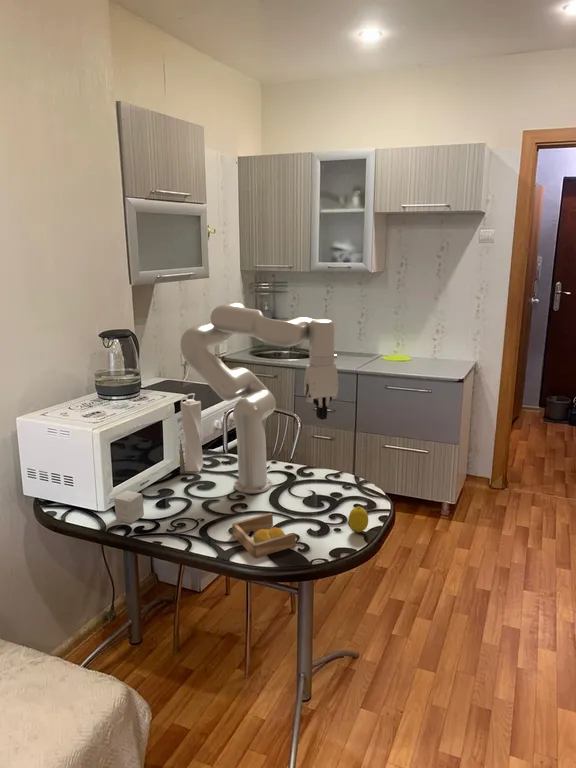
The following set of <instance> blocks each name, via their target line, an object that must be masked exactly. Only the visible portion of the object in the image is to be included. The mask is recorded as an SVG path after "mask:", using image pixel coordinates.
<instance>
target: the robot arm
mask: <svg viewBox="0 0 576 768" xmlns="http://www.w3.org/2000/svg"><path fill="white" fill-rule="evenodd" d="M209 319H210V321H208V322H205V323H200V324H197V325H195V326H194V325H193V326H191V327H190V328H189V327H188V329H187V330H185V331H184V333H183V334H182V336H181V338H180V352H181V354H182V357H183V359H184V361H185V362H186V363H187V364H188V365H189V367H191V368H192V369H193V370H194V371H195V372H196V373H197V374H198V375H199V376H200V377H201V378H202V379H203V380H204V381H205V383H206V384H207V385H208V386H209V388H211V389H212V390H213V392H215V393H216V395H217V396H219V398H220V399H221V400H223V401H226V402H230V401H233V400H235V399H237V398H240V397H241V399H239V400H238V401H237V402H236V403H235V405H234V407H233V412H232V414H233V420H234V421H233V422H234V424H235V425H234V426H235V431H236V432H235V433H236V444H237V445H236V447H237V449H236V450H237V465H238V466H237V469H238V470H237V473H238V479H237V480H235V481H234V484H233V485H234V489H235V490H236V491H238V492H240V493H244V494H250V495H251V494H253V495H254V494H259V493H264V492H267V491H269V490H270V489H271V488H272V483H273V482H272V480H271V478H268V476H267V475H268V473H267V471H268V469H267V443H266V442H267V440H266V439H267V438H266V431H265V428H264V423H263V420H264V419H266V418H267V417H269V416H270V415H272V414H273V412H275V409H276V407H277V403H276V399H275V396H274V395H273V393H272V392H271V391H270V390H269V389H268V388H267V386H266V385H264V383H263V382H262V381H261V380H260V379H259V378H258V377H257V376H256V375H255V374H254V372H252V371H251V370H250V369H247V367H246V368H245V367H241V366H237V367H234V368H229V367H228V366H227V365H226V364H225V363H224V362H223V361H222V360H221V358H219V357H218V356H216V355H215V354H214V353H211V352H210V351H209V349H213V348H215V347H218V346H220V345H221V344H223V343H224V342H225V341H227V340H228V339H229V338H231V336H233V335H234V334H237V335H241V336H247V337H253V338H255V339H257V340H259V341H261V342H263V343H267V344H269V345H270V344H271V345H276V346H283V347H293V346H296V345H299V344H301V343H304V342H307V341H308V349H309V350H308V354H309V355H308V357H309V358H308V359H309V360H308V361H309V364H307V365H306V367H305V372H304V380H303V381H304V383H303V395H304V396H306V399H305V402H306V403H308V404H309V403H311V404H314V406H316V411H315V412H316V413H315V414H316V417H317V418H318V420H319V419H320V420H322V421H323V420H327V419H328V417H327V416H328V407H329V406H330V403H331V401H332V400H335V399H336V398H338V392H339V375H338V370H337V369H338V368H337V365H336V363H335V360H337V359H338V356H337V354H335V322H333V321H332V320H331V319H325V318H322V319H321V318H319V319H314V318H311V317H304V316H299V317H296V318H293V319H289V320H279V319H273V318H269V317H266V316H264V313H263V311H261V310H260V309H254V308H248V307H245V305H243V304H242V303H239V302H229V303H224V304H221V305H217V306H216V307H214V309H213V310H212V311H211V314H210V317H209Z"/></svg>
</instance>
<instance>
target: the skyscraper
mask: <svg viewBox="0 0 576 768" xmlns="http://www.w3.org/2000/svg"><path fill="white" fill-rule="evenodd" d="M195 395H196V393H188V394H186V395H185V396H183V397H182V399H181V400H180V413H181V414H180V416H181V424H182V430H183V434H184V450H183V444H182V440H181V439H180V440H179V443H180V444H179V452H178V453H179V466H180V467H179V470H180V471H179V474H189V475H190V474H192V475H193V474H195V475H196V474H198V475H199V474H200V472H201V471H202V469H203V467H204V457H203V447H202V440H201V437H200V432H201V426H202V425H201V424H202V402H201V401H202V400H195ZM189 396H192V398H190V399H189V398H188V399H186V400H185V401H183V400H184V399H185V398H186V397H189Z"/></svg>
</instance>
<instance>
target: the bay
mask: <svg viewBox="0 0 576 768" xmlns="http://www.w3.org/2000/svg"><path fill="white" fill-rule="evenodd" d="M273 518H274V516H273V513H272V512H269V513H266V514H265V513H264V514H261V515H258V516H255V517H249V518H247V519H243V520H239V521H236V522H233V523H232V524H231V525H232V526H231V528H232V536H233V537H234V538H235V539H236V540H237V541H238V542H239V544H240V545H241V546H242V547H244V549H245V550H246V551H247V552H248V553H249V554H250V555H251V556H252V557H253V559H255V558H260V557H264V556H266V555H270V554H274V553H277V552H280V551H284V550H287V549H290V548H294V547H296V545H297V542H296V541H297V540H296V539H297V538H296V537H297V534H296V532H291V533H287V534H285V535H283V536H280V537H277V538H273V539H270V540H266V541H263V542H260V543H255V542H254V541H253V539H252V538H251V537H250V536H249V535H248V534H247V533H251V532H254V531H255V532H256V531H258V530H260V529H265V528H269V527H272V526H273V525H274V524H273V523H274V520H273Z"/></svg>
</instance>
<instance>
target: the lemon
mask: <svg viewBox="0 0 576 768" xmlns="http://www.w3.org/2000/svg"><path fill="white" fill-rule="evenodd" d="M348 524H349V527H350V528H351V529H352V530H353V531H355V532H356V533H358V534H359V533H360V532H363V531H365V530H366V529H367V528H368V524H369V515H368V512H367V510H366V509H364V508H363V507H361V506H355V507H353V509H351V510H350V513H349V516H348Z"/></svg>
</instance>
